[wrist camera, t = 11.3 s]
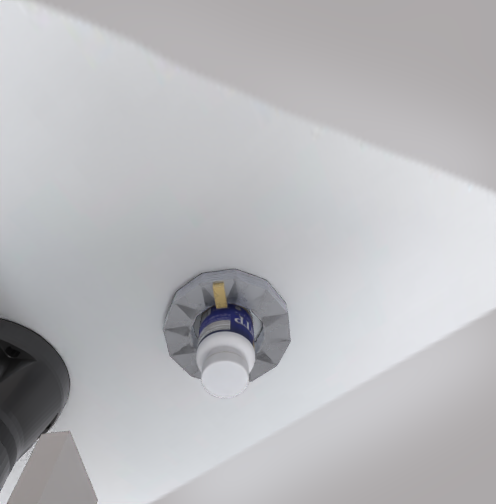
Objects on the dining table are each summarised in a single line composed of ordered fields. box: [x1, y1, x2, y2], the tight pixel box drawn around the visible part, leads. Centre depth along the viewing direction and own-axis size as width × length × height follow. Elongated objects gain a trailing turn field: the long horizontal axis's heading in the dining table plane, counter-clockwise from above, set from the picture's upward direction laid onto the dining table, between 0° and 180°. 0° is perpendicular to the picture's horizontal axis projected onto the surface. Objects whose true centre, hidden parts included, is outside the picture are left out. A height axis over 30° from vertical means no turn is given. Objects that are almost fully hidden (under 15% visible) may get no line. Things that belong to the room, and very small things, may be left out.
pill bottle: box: [196, 303, 255, 398], centre depth 40 cm, size 5×5×9 cm
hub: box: [163, 269, 291, 382], centre depth 43 cm, size 12×12×3 cm
